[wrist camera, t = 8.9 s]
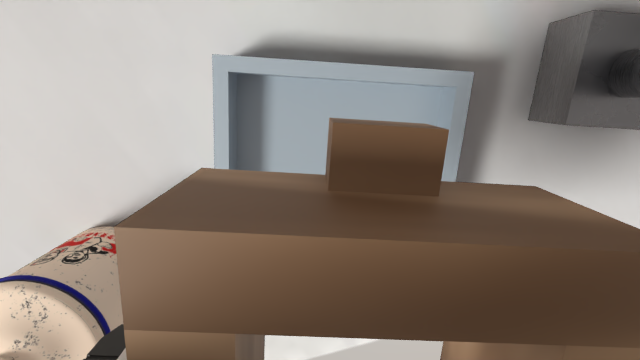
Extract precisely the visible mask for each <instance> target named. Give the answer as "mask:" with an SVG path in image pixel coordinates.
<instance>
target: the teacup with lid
mask: <svg viewBox="0 0 640 360" xmlns="http://www.w3.org/2000/svg"><path fill="white" fill-rule="evenodd" d="M121 324H123V315H122V305H121V295H120V285H119V275H118V265H117V254H116V244H115V234H114V227H96V228H92V229H88V230H86V231H83V232H81V233H80V234H78V235H76V236H75V237H73V238H71V239H70V240H68V241H66V242H65V243H63V244H61V245H60V246H58V247H56V248H54V249H53V250H51V251H49V252H48V253H46V254H44V255H43V256H41V257H39V258H38V259H36V260H34V261H33V262H31V263H29V264H28V265H26V266H24V267H23V268H21V269H19V270H18V271H16V272H14V273H13V274H11V275H9V276H8V277H4V278H0V360H83V359H86V357H87V354H88V353H89V352H90V351H91V349H92V348H93V347H94V346H95V345H96V344H97V342H98V341H99V340H100V339H101V338H102V337H103V336H105V335H106V334H108V333H109V332H111V331H112V330H114V329H115V328H117V327H118V326H120V325H121Z"/></svg>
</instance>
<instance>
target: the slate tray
mask: <svg viewBox="0 0 640 360" xmlns="http://www.w3.org/2000/svg"><path fill="white" fill-rule="evenodd" d="M212 65H213V120H214V169H230V170H248V171H266V172H285V173H303V174H321V175H325V173H326V158H327V143H328V129H329V118H344V119H360V120H376V121H392V122H408V123H424V124H429V125H433V126H437V127H441V128H445V129H449V135H448V141H447V147H446V154H445V160H444V166H443V173H442V179H441V181H448V182H456V176H457V170H458V165H459V159H460V153H461V147H462V141H463V136H464V130H465V124H466V118H467V112H468V106H469V101H470V95H471V89H472V83H473V77H474V72H468V71H453V70H439V69H424V68H409V67H394V66H380V65H365V64H350V63H335V62H321V61H306V60H291V59H277V58H262V57H247V56H232V55H218V54H212Z"/></svg>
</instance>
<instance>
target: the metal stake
mask: <svg viewBox="0 0 640 360" xmlns="http://www.w3.org/2000/svg"><path fill="white" fill-rule="evenodd" d="M528 120H530V121H538V122H546V123H554V124H562V125H573V126H589V127H605V128H621V129H637V130H640V14H636V13H623V12H609V11H596V10H593V11H590V12H587V13H583V14H580V15H576V16H573V17H570V18H566V19H563V20H559V21H556V22H553V23H549V27H548V32H547V36H546V41H545V46H544V50H543V55H542V59H541V64H540V69H539V73H538V78H537V82H536V87H535V91H534V96H533V101H532V105H531V110H530V114H529V119H528Z"/></svg>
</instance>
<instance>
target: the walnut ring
mask: <svg viewBox="0 0 640 360" xmlns="http://www.w3.org/2000/svg"><path fill="white" fill-rule="evenodd" d="M448 135H449V129H445V128H441V127H437V126H433V125H429V124H424V123H408V122H392V121H376V120H360V119H344V118H329V129H328V143H327V158H326V173H325V175H321V174H303V173H285V172H266V171H248V170H230V169H212V168H201V169H199V170H198V171H196V172H195V173H193V174H192V175H190V176H189V177H188V178H186V179H185V180H183V181H182V182H180V183H179V184H177V185H176V186H174V187H173V188H171V189H170V190H168V191H167V192H165V193H164V194H162V195H161V196H159V197H158V198H156V199H155V200H153V201H152V202H150V203H149V204H147V205H146V206H144V207H143V208H141V209H140V210H138V211H137V212H136V213H134V214H133V215H131V216H130V217H128V218H127V219H125V220H124V221H122V222H121V223H119V224H118V225H116V226H115V227H114V234H115V244H116V254H117V265H118V275H119V285H120V295H121V305H122V315H123V325H124V336H125V346H126V356H127V360H264V343H265V335H282V336H310V337H338V338H367V339H395V340H424V341H444V342H443V347H442V353H441V359H440V360H640V229H638V228H636V227H633V226H631V225H628V224H626V223H623V222H621V221H618V220H616V219H614V218H611V217H609V216H606V215H604V214H601V213H599V212H597V211H594V210H592V209H589V208H587V207H584V206H582V205H580V204H577V203H575V202H572V201H570V200H567V199H565V198H563V197H560V196H558V195H555V194H553V193H550V192H548V191H546V190H543V189H541V188H538V187H536V186H521V185H503V184H484V183H466V182H448V181H441V179H442V173H443V166H444V160H445V154H446V147H447V141H448Z"/></svg>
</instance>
